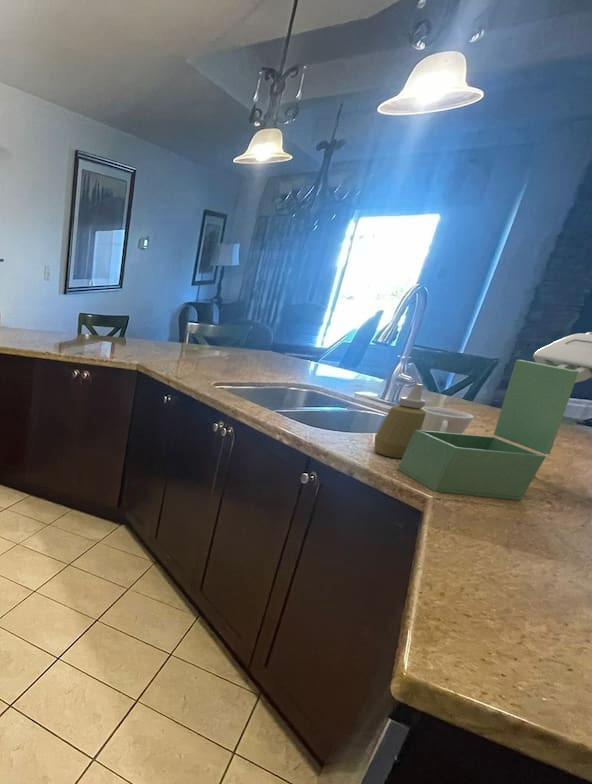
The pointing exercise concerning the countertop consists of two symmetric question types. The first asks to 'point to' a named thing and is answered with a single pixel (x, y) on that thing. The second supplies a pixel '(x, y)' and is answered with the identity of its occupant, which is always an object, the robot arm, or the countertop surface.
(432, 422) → the mug
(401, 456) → the squeeze bottle
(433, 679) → the countertop surface
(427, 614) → the countertop surface
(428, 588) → the countertop surface
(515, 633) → the countertop surface
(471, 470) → the tea tin
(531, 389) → the tin lid
